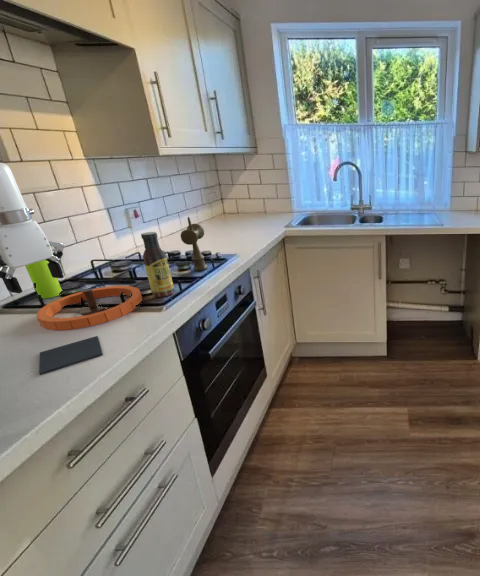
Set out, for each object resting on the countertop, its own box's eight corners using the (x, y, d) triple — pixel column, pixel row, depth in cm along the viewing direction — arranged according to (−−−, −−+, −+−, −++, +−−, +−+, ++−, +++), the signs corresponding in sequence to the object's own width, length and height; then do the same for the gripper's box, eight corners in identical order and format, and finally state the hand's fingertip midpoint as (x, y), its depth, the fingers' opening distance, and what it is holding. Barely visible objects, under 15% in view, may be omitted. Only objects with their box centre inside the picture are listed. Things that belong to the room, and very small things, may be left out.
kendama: (212, 264, 141) (200, 213, 133) (206, 273, 132) (193, 219, 125) (195, 266, 140) (183, 214, 132) (188, 274, 131) (174, 220, 123)
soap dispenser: (32, 297, 116) (5, 236, 108) (59, 289, 121) (35, 231, 113) (38, 301, 112) (10, 239, 105) (65, 293, 118) (41, 233, 110)
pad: (39, 374, 77) (39, 373, 76) (40, 353, 84) (39, 352, 84) (102, 354, 83) (102, 353, 83) (97, 337, 91) (97, 335, 91)
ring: (40, 340, 90) (36, 331, 89) (40, 309, 107) (37, 301, 106) (149, 310, 105) (147, 302, 104) (135, 287, 121) (132, 280, 120)
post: (80, 317, 101) (72, 297, 99) (78, 309, 106) (71, 290, 104) (110, 309, 105) (103, 290, 103) (107, 302, 110) (100, 283, 108)
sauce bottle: (163, 299, 111) (145, 236, 104) (148, 297, 113) (129, 235, 106) (180, 291, 117) (164, 231, 109) (165, 289, 119) (149, 230, 111)
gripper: (37, 210, 93) (62, 271, 100) (-51, 226, 78) (-14, 297, 85) (59, 210, 92) (83, 273, 99) (-26, 227, 76) (9, 300, 83)
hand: (38, 284), depth 92 cm, fingers open, 9 cm apart
